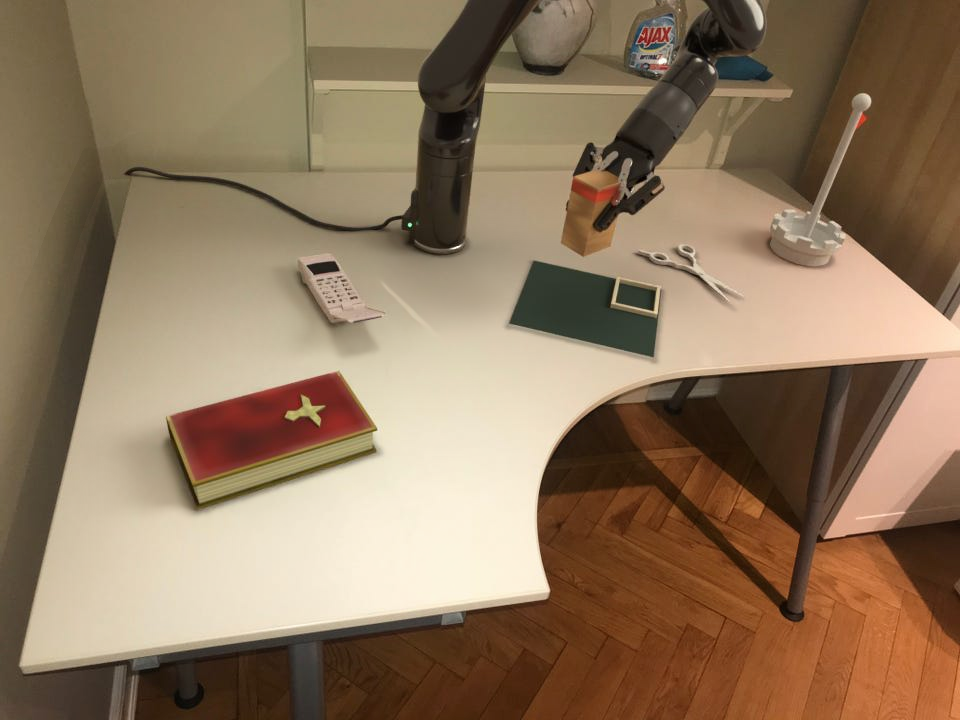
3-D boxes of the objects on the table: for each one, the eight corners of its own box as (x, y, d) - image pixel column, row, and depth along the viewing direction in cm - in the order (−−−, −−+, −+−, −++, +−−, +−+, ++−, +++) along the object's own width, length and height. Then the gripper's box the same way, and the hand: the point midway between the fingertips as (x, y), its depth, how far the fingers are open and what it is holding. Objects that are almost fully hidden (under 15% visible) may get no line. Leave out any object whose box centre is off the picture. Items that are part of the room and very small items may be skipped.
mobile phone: (347, 322, 102) (290, 232, 118) (346, 356, 105) (291, 265, 122) (389, 314, 104) (327, 227, 121) (386, 348, 108) (327, 259, 124)
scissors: (680, 239, 142) (763, 293, 129) (679, 242, 142) (761, 297, 130) (638, 249, 137) (719, 307, 124) (637, 253, 137) (718, 311, 125)
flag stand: (812, 276, 138) (884, 113, 119) (751, 244, 145) (810, 86, 127) (847, 257, 145) (919, 101, 127) (787, 228, 152) (848, 76, 134)
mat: (508, 325, 115) (509, 318, 114) (533, 262, 131) (534, 256, 130) (652, 360, 112) (655, 353, 112) (660, 291, 128) (662, 284, 127)
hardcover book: (169, 438, 90) (164, 412, 87) (337, 392, 99) (337, 366, 97) (197, 510, 82) (192, 483, 79) (376, 452, 92) (377, 426, 89)
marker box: (560, 243, 111) (573, 176, 105) (587, 232, 115) (602, 167, 108) (583, 257, 109) (598, 189, 102) (611, 246, 112) (627, 180, 106)
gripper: (610, 91, 108) (536, 188, 109) (691, 127, 100) (612, 231, 101) (625, 121, 114) (556, 212, 115) (703, 157, 106) (628, 255, 107)
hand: (582, 220), depth 108 cm, fingers closed on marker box, 4 cm apart
